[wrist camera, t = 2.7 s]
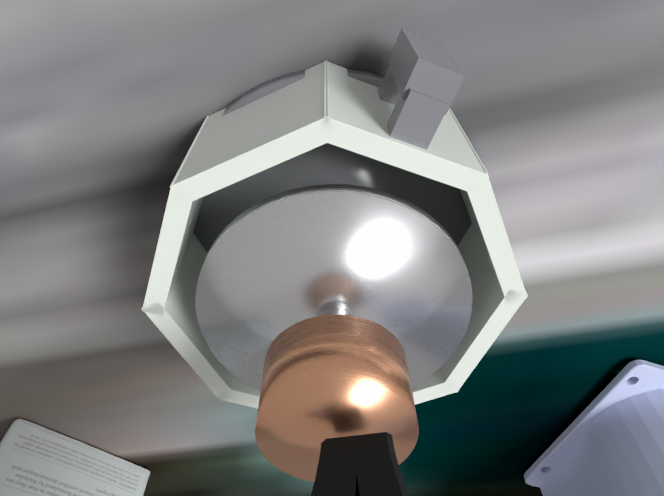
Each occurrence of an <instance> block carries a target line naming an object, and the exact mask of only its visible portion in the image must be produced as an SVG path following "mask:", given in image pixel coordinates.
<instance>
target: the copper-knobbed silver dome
mask: <svg viewBox="0 0 664 496" xmlns="http://www.w3.org/2000/svg"><path fill="white" fill-rule="evenodd" d="M472 300H473V295H472V286H471V281H470V277H469V274H468V270H467V267H466V265H465V262H464V259H463V257H462V255H461V253H460V251H459V249H458V247H457V245H456V243H455V242H454V240H453V239H452V237H451V236H450V235H449V233H448V232H447V231H446V230H445V229H444V227H443V226H442V225H441V224H440V223H439V222H438V221H437V220H436V219H435V218H433V217H432V216H431V215H429V214H428V213H427V212H425V211H424V210H423V209H421V208H420V207H418V206H416V205H414V204H413V203H411V202H409V201H407V200H406V199H403V198H401V197H398V196H396V195H393V194H391V193H388V192H385V191H381V190H377V189H374V188H370V187H364V186H357V185H350V184H324V185H313V186H306V187H302V188H297V189H292V190H288V191H285V192H283V193H280V194H277V195H274V196H271V197H269V198H267V199H265V200H263V201H261V202H259V203H257V204H255V205H253V206H252V207H250V208H249V209H247V210H246V211H244V212H243V213H241V214H240V215H238V216H237V217H236V218H235V219H234V220H233V221H232V222H231V223H230V224H229V225H227V226H226V227H225V229H224V230H223V231H222V232H221V233H220V235H219V236H218V237H217V238H216V240H215V241H214V243H213V245H212V246H211V248H210V250H209V251H208V253H207V256H206V258H205V261H204V263H203V266H202V269H201V272H200V275H199V278H198V283H197V288H196V299H195V308H196V315H197V321H198V324H199V327H200V330H201V333H202V335H203V337H204V339H205V341H206V343H207V345H208V347H209V348H210V350H211V351H212V353H213V354H214V356H215V357H216V358H217V359H218V360H219V362H220V363H221V364H222V365H223V366H224V367H225V368H226V369H227V370H228V371H230V372H231V373H232V374H233V375H234V376H236V377H237V378H238V379H240V380H241V381H243V382H244V383H246V384H247V385H249V386H251V387H253V388H254V389H256V390H258V391H260V398H259V406H258V414H257V422H256V429H255V436H256V441H257V445H258V447H259V449H260V451H261V453H262V454H263V455H264V457H265V458H266V459H267V460H268V461H269V462H270V463H271V464H272V465H274V466H275V467H276V468H278V469H279V470H281V471H283V472H285V473H287V474H289V475H291V476H293V477H296V478H299V479H302V480H306V481H310V482H315V477H316V472H317V467H318V462H319V456H320V449H321V443H322V442H323V441H324V440H325V439H328V438H337V437H346V436H355V435H364V434H372V433H381V432H387V433H389V434H391V435H392V438H393V444H394V449H395V453H396V458H397V461H398V465H399V464H401V463H402V462H403V461H404V460H405V459H406V458H407V457H408V456H409V455H410V453H411V452H412V450H413V449H414V447H415V445H416V442H417V439H418V433H419V432H418V421H417V416H416V410H415V404H414V399H413V393H412V388H413V387H415V386H416V385H418V384H420V383H421V382H423V381H424V380H426V379H427V378H429V377H430V376H431V375H432V374H434V373H435V372H436V371H438V370H439V369H440V368H441V367H442V366H443V365H444V364H445V363H446V362H447V361H448V359H449V358H450V357H451V356H452V354H453V353H454V352H455V351H456V349H457V348H458V346H459V344H460V343H461V341H462V339H463V337H464V335H465V332H466V330H467V328H468V325H469V321H470V317H471V312H472Z"/></svg>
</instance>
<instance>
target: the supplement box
mask: <svg viewBox="0 0 664 496" xmlns="http://www.w3.org/2000/svg"><path fill="white" fill-rule="evenodd" d="M149 475H150V471H149V470H147V469H145V468H143V467H141V466H138V465H135V464H133V463H131V462H128V461H126V460H124V459H121V458H119V457H116V456H114V455H111V454H109V453H107V452H104V451H102V450H99V449H97V448H94V447H91V446H89V445H87V444H85V443H82V442H80V441H77V440H75V439H72V438H69V437H67V436H64V435H62V434H59V433H57V432H54V431H52V430H49V429H47V428H44V427H42V426H40V425H37V424H35V423H32V422H29V421H26V420H23V419H17V420H15V421H14V422H13V423H12V425H11V426H10V428H9V429H8V431H7V433H6V434H5V436H4V437H3V439H2V441H1V442H0V496H143V494H144V491H145V488H146V484H147V481H148V478H149Z"/></svg>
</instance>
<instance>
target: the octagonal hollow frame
mask: <svg viewBox="0 0 664 496" xmlns="http://www.w3.org/2000/svg"><path fill="white" fill-rule="evenodd" d="M387 63H388V68H387V70H386V72H385V75H384V76H381V75H377V74H374V73H371V72H365V71H359V70H353V69H346V68H344V67H341V66H338V65H336V64H333V63H330V62H328V61H327V60H326V61H325V60H324V62H322V63H320V64H318V65H316V66H313V67H311V68H309V69H307V70H304V71H300V72H296V73H292V74H287V75H283V76H280V77H278V78H275V79H273V80H270V81H268V82H265V83H263V84H261V85H259V86H257V87H255V88H253V89H252V90H250V91H248V92H246V93H245V94H243V95H242V96H240V97H239V98H238V99H236V100H235V101H234V102H232V103H231V104H230V105H229V106H227V107H226V108H224V109H222V110H220V111H218V112H216V113H214V114H212V115H210V116H208V115H207V117H206V118H205V120H204V122H203V124H202V126H201V128H200V129H199V131H198V133H197V135H196V137H195V139H194V141H193V143H192V145H191V147H190V149H189V150H188V152H187V154H186V156H185V158H184V160H183V162H182V164H181V166H180V168H179V169H178V171H177V173H176V175H175V177H174V179H173V181H172V183H171V185H170V192H169V197H168V201H167V205H166V210H165V214H164V218H163V223H162V227H161V231H160V235H159V240H158V244H157V248H156V253H155V257H154V261H153V265H152V270H151V274H150V278H149V283H148V287H147V291H146V296H145V300H144V303H143V306H142V308H141V309H142V311H144V312H145V313H146V315H147V316H148V317H149V318H150V319H151V320H152V322H153V323H154V324H155V325H156V326H157V328H158V329H159V330H160V331H161V332H162V333H163V335H164V336H165V337H166V338H167V339H168V340H169V342H170V343H171V344H172V345H173V346H174V347H175V349H176V350H177V351H178V352H179V353H180V355H181V356H182V357H183V358H184V359H185V360H186V362H187V363H188V364H189V365H190V366H191V367H192V369H193V370H194V371H195V372H196V373H197V374H198V376H199V377H200V378H201V379H202V380H203V382H204V383H205V384H206V385H207V386H208V387H209V389H210V390H211V391H212V392H213V393H214V394H215V396H216V397H217V398H218V399H219V400H223V401H227V402H232V403H236V404H240V405H245V406H249V407H253V408H257V409H258V406H259V398H260V391H258V390H256V389H254V388H253V387H251V386H249V385H247V384H246V383H244V382H243V381H241V380H240V379H238V378H237V377H236V376H234V375H233V374H232V373H231V372H230V371H228V370H227V369H226V368H225V367H224V366H223V365H222V364H221V363H220V362H219V360H218V359H217V358H216V357H215V356H214V354H213V353H212V351H211V350H210V348H209V347H208V345H207V343H206V341H205V339H204V337H203V335H202V333H201V330H200V327H199V324H198V321H197V315H196V308H195V299H196V288H197V283H198V278H199V275H200V272H201V269H202V266H203V263H204V261H205V258H206V256H207V253H208V251H209V250H210V248H211V246H212V245H213V243H214V241H215V240H216V238H217V237H218V236H219V235H220V233H221V232H222V231H223V230H224V229H225V227H226V226H227V225H229V224H230V223H231V222H232V221H233V220H234V219H235V218H236V217H237V216H238V215H240V214H241V213H243V212H244V211H246V210H247V209H249V208H250V207H252V206H253V205H255V204H257V203H259V202H261V201H263V200H265V199H267V198H269V197H271V196H274V195H277V194H280V193H283V192H285V191H288V190H292V189H297V188H302V187H306V186H313V185H324V184H350V185H357V186H364V187H370V188H374V189H377V190H381V191H385V192H388V193H391V194H393V195H396V196H398V197H401V198H403V199H406V200H407V201H409V202H411V203H413V204H414V205H416V206H418V207H420V208H421V209H423V210H424V211H425V212H427V213H428V214H429V215H431V216H432V217H433V218H435V219H436V220H437V221H438V222H439V223H440V224H441V225H442V226H443V227H444V229H445V230H446V231H447V232H448V233H449V235H450V236H451V237H452V239H453V240H454V242H455V243H456V245H457V247H458V249H459V251H460V253H461V255H462V257H463V259H464V262H465V265H466V267H467V270H468V274H469V277H470V281H471V286H472V295H473V300H472V312H471V317H470V321H469V325H468V328H467V330H466V332H465V335H464V337H463V339H462V341H461V343H460V344H459V346H458V348H457V349H456V351H455V352H454V353H453V354H452V356H451V357H450V358H449V359H448V361H447V362H446V363H445V364H444V365H443V366H442V367H441V368H440V369H439V370H438V371H436V372H435V373H434V374H432V375H431V376H430V377H429V378H427V379H426V380H424V381H423V382H421V383H420V384H418V385H416V386H415V387H413V388H412V393H413V399H414V404H419V403H422V402H425V401H428V400H432V399H435V398H438V397H442V396H445V395H448V394H451V393H455V392H456V393H457V392H458V391H459V389H460V387H461V386H462V385H463V383H464V382H465V381H466V379H467V378H468V376H469V375H470V374H471V372H472V371H473V370H474V368H475V367H476V366H477V364H478V363H479V361H480V360H481V359H482V357H483V356H484V355H485V353H486V352H487V350H488V349H489V348H490V346H491V345H492V344H493V342H494V341H495V340H496V338H497V337H498V335H499V334H500V333H501V331H502V330H503V329H504V327H505V326H506V324H507V323H508V322H509V320H510V319H511V318H512V316H513V315H514V314H515V312H516V311H517V309H518V308H519V307H520V305H521V304H522V303H523V301H524V300H525V298H527V296H528V295H527V293H526V291H525V289H524V286H523V282H522V279H521V276H520V273H519V270H518V267H517V264H516V261H515V258H514V255H513V252H512V249H511V245H510V242H509V239H508V236H507V233H506V230H505V227H504V224H503V221H502V218H501V215H500V212H499V208H498V205H497V202H496V199H495V196H494V193H493V190H492V187H491V184H490V181H489V178H488V176H489V174H488V172H487V171H486V169H485V167H484V165H483V164H482V162H481V160H480V159H479V157H478V155H477V153H476V152H475V150H474V148H473V146H472V145H471V143H470V141H469V140H468V138H467V136H466V134H465V133H464V131H463V129H462V127H461V126H460V124H459V122H458V121H457V119H456V117H455V115H454V114H453V112H452V110H451V109H450V106H451V104H452V102H453V100H454V98H455V96H456V94H457V92H458V90H459V88H460V86H461V84H462V82H463V80H464V78H465V75H464V74H463V73H462V71H461V70H460V69H459V67H458V66H457V65H456V63H455V62H454V61H453V60H452V58H451V57H450V56H449V54H448V53H447V52H446V50H445V49H444V48H443V46H442V45H441V44H440V43H437V42H435V41H432V40H430V39H427V38H425V37H423V36H420V35H418V34H415V33H413V32H410V31H408V30H405V29H403V28H402V29H401V31H400V34H399V36H398V39H397V41H396V43H395V46H394V48H393V50H392V53H391V55H390V58H389V60H388V62H387Z"/></svg>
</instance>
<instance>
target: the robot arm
mask: <svg viewBox="0 0 664 496" xmlns="http://www.w3.org/2000/svg"><path fill="white" fill-rule="evenodd" d="M524 479H525V482H526V483H527V484H528V485H531V486H535V487H540V489H541V492H542V495H543V496H664V366H661V365H658V364H655V363H651V362H648V361H645V360H634V361H631V362H630V363H628V364H627V365H626V366H625V367H624V368H623V369H622V370H621V372H620V373H619V374H618V375H617V376H616V377H615V378H614V379H613V380H612V381H611V382H610V383H609V384H608V385H607V386H606V387H605V388H604V390H603V391H602V392H601V393H600V394H599V395H598V396H597V397H596V398H595V399H594V400H593V401H592V402H591V403H590V404H589V405H588V406H587V407H586V409H585V410H584V411H583V412H582V413H581V414H580V415H579V416H578V417H577V418H576V419H575V420H574V421H573V422H572V423H571V424H570V425H569V427H568V428H567V429H566V430H565V431H564V432H563V433H562V434H561V435H560V436H559V437H558V438H557V439H556V440H555V441H554V442H553V443H552V445H551V446H550V447H549V448H548V449H547V450H546V451H545V452H544V453H543V454H542V455H541V456H540V457H539V458H538V459H537V460H536V461H535V463H534V464H533V465H532V466H531V467H530V468H529V469H528V470H527V471H526V472H525V474H524ZM311 496H409V495H408V492H407V490H406V487H405V484H404V481H403V478H402V475H401V472H400V468H399V465H398V461H397V458H396V453H395V449H394V444H393V438H392V435H391V434H389V433H387V432H381V433H372V434H364V435H355V436H346V437H337V438H328V439H325V440H324V441H323V442H322V443H321V449H320V456H319V462H318V467H317V472H316V477H315V482H314V486H313V490H312V494H311Z"/></svg>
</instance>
